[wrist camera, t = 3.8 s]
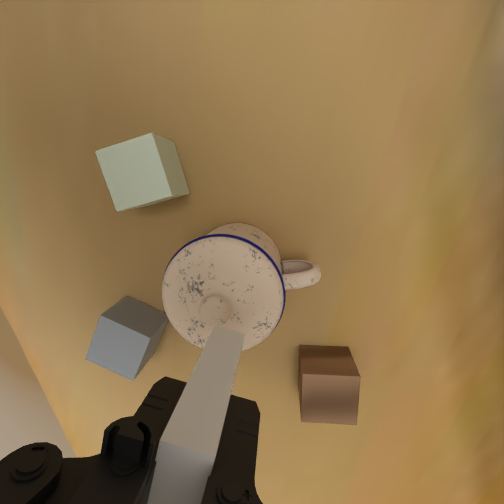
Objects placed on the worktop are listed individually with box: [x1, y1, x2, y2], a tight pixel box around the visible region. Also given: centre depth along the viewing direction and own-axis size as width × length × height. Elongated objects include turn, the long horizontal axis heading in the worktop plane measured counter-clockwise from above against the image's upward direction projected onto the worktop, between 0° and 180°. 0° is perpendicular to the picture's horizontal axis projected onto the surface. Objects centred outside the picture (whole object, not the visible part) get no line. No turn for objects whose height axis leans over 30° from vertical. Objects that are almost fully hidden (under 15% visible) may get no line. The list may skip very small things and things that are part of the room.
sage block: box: [95, 133, 190, 212], centre depth 26 cm, size 5×5×5 cm
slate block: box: [85, 296, 168, 381], centre depth 30 cm, size 5×5×5 cm
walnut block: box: [298, 345, 361, 425], centre depth 29 cm, size 5×5×5 cm
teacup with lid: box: [162, 223, 321, 351], centre depth 24 cm, size 12×9×12 cm
